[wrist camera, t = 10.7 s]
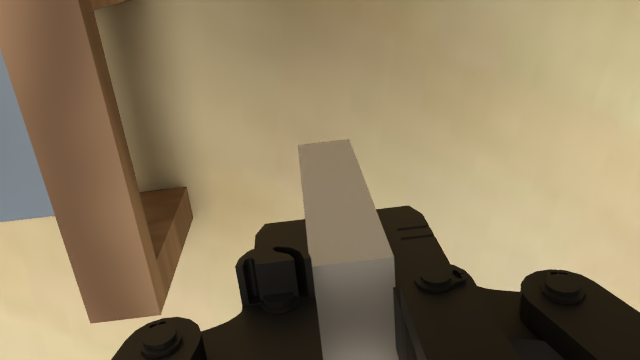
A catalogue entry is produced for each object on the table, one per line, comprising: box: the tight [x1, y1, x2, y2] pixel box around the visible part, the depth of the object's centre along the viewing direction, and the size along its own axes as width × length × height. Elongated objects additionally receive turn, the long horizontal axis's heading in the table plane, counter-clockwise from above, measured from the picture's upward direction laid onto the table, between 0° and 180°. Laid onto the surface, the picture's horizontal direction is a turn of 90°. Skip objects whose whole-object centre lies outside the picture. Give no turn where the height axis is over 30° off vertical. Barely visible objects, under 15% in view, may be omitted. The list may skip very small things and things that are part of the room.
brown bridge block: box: [0, 0, 193, 323], centre depth 24 cm, size 3×14×9 cm, turn 6°
